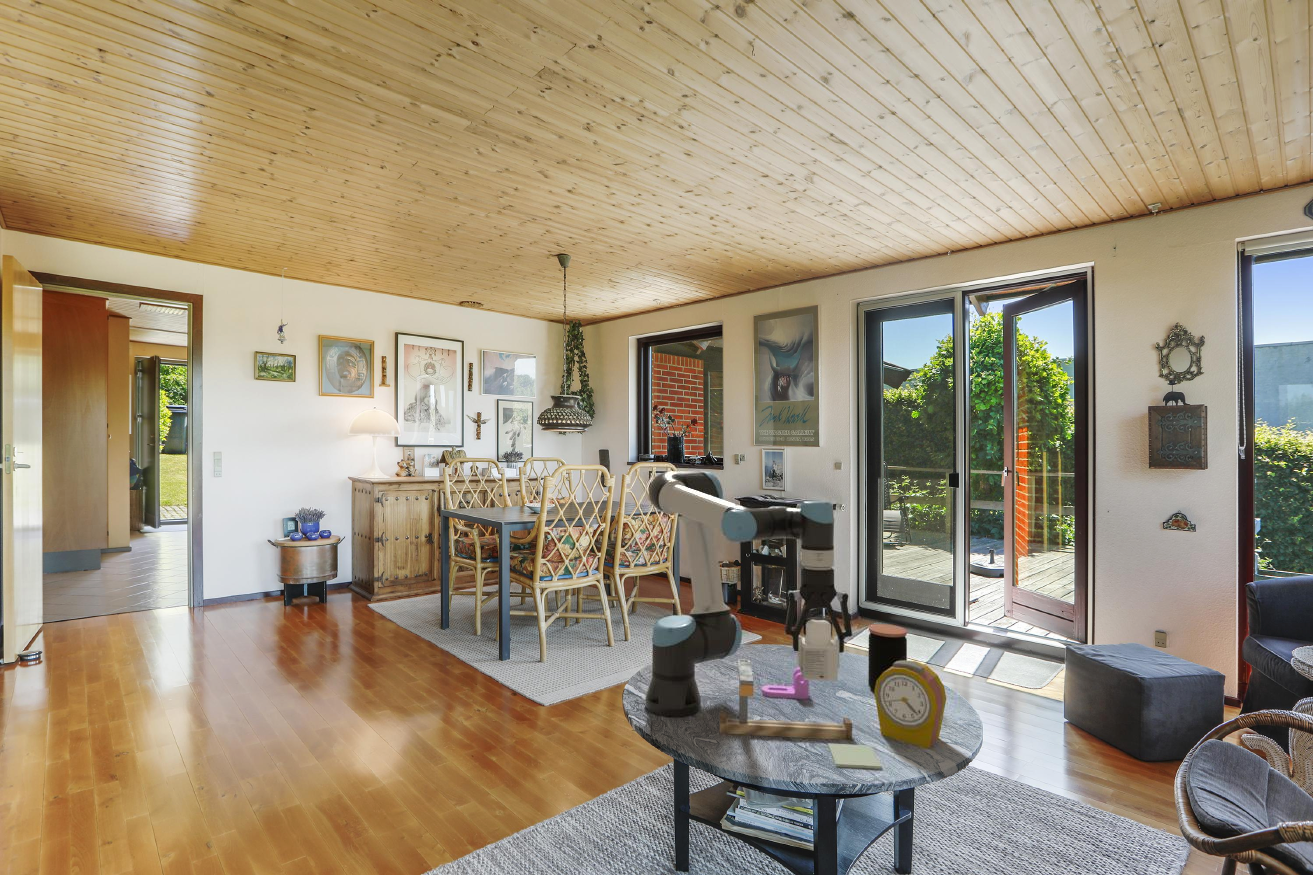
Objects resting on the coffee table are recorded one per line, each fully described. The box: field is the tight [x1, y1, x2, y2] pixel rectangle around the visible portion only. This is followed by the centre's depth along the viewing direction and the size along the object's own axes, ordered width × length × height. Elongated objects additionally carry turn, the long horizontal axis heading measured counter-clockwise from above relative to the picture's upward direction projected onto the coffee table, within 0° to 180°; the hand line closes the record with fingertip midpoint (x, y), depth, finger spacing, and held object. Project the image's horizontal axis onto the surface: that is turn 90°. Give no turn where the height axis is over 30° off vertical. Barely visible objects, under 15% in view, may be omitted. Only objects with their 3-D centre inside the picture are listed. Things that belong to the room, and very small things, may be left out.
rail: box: [719, 711, 853, 741], centre depth 158 cm, size 32×3×4 cm, turn 85°
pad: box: [827, 743, 883, 770], centre depth 146 cm, size 10×10×1 cm
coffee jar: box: [867, 623, 908, 693], centre depth 188 cm, size 11×11×18 cm
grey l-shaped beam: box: [737, 658, 754, 722], centre depth 152 cm, size 3×15×15 cm, turn 175°
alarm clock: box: [873, 660, 947, 749], centre depth 157 cm, size 15×8×18 cm, turn 50°
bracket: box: [761, 667, 810, 700], centre depth 184 cm, size 13×6×7 cm, turn 83°
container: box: [799, 616, 839, 682], centre depth 149 cm, size 8×8×13 cm
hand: (818, 665), depth 149 cm, fingers closed on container, 8 cm apart
